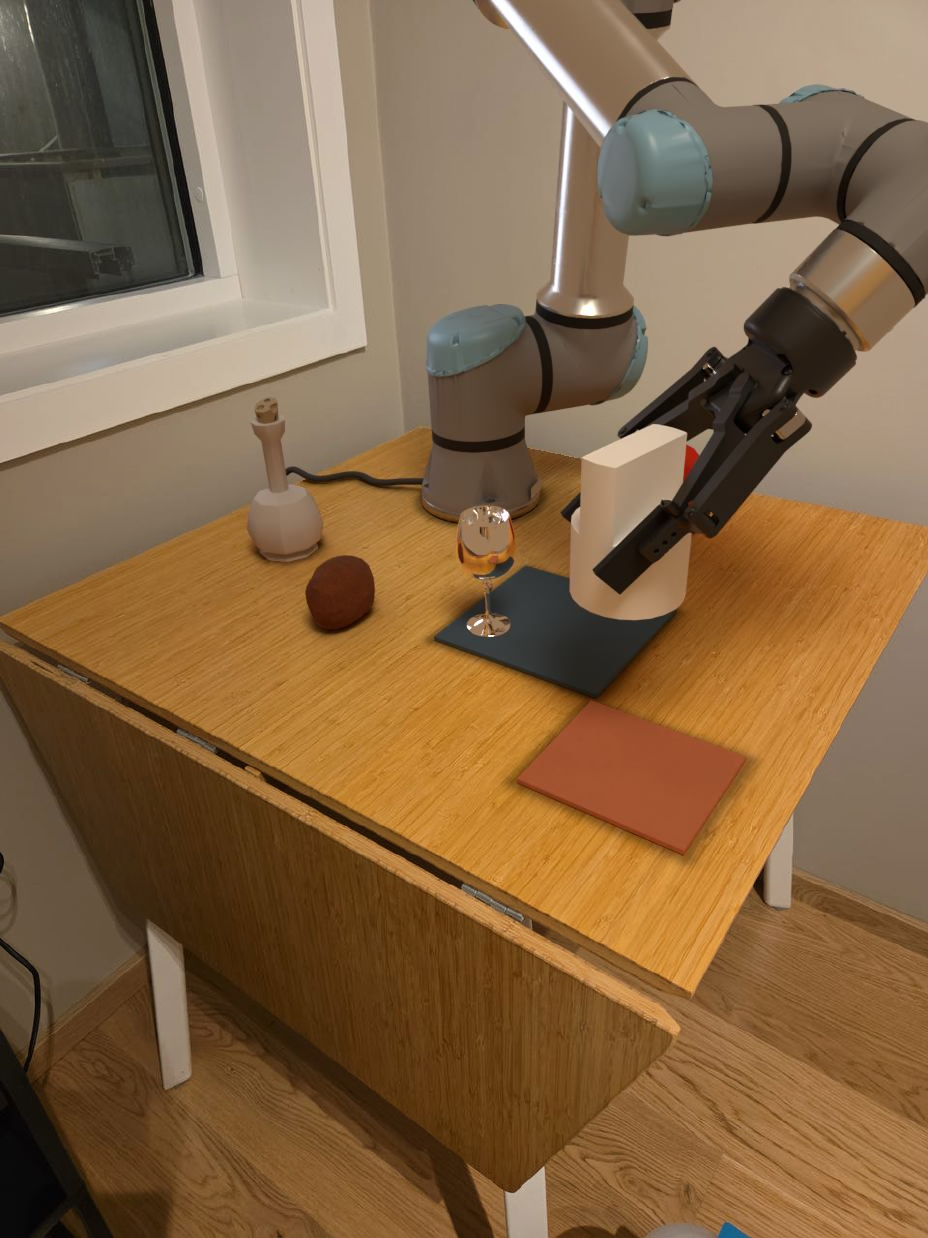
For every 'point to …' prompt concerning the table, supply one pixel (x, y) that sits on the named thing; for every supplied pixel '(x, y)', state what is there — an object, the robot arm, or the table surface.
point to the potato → (340, 591)
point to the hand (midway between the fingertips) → (588, 551)
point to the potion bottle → (280, 498)
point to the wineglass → (486, 559)
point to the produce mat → (634, 775)
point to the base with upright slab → (628, 522)
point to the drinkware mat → (554, 634)
